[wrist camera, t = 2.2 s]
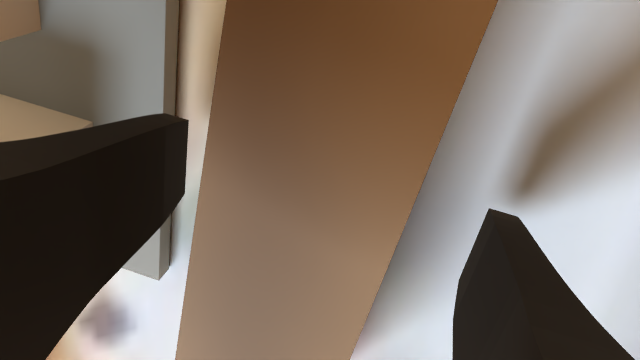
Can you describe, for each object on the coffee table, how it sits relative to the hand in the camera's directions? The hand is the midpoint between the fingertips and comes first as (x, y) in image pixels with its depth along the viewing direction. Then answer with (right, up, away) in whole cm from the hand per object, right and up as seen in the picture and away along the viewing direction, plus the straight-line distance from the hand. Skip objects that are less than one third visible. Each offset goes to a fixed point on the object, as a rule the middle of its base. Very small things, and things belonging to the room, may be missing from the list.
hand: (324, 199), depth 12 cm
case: (0, +1, +1) cm, 2 cm away
